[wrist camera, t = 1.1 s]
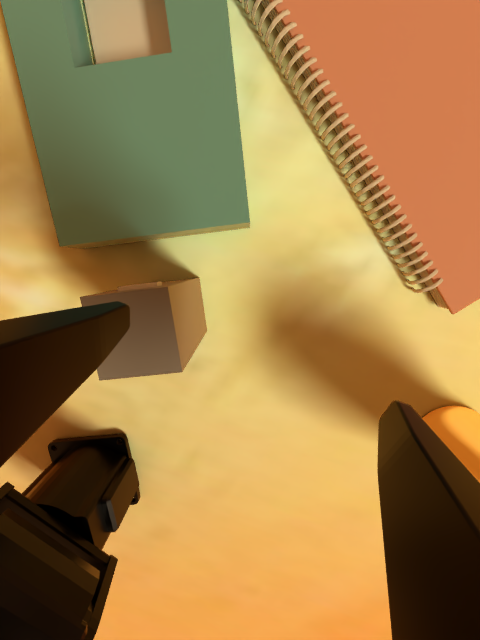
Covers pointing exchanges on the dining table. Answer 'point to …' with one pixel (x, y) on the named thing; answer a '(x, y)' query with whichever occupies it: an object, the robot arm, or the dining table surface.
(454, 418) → the beer glass
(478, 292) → the notebook
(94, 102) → the green slotted board
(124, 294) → the block
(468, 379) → the dining table surface
